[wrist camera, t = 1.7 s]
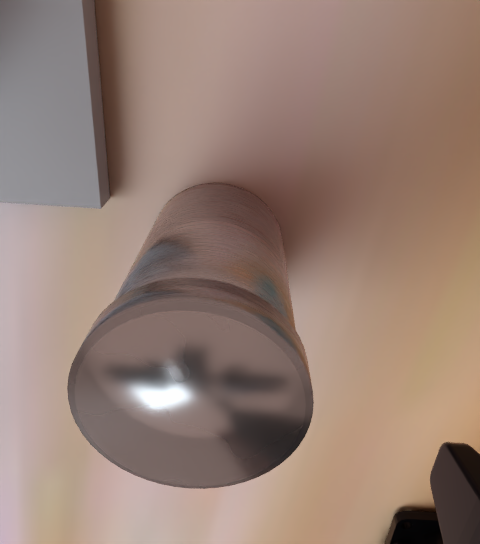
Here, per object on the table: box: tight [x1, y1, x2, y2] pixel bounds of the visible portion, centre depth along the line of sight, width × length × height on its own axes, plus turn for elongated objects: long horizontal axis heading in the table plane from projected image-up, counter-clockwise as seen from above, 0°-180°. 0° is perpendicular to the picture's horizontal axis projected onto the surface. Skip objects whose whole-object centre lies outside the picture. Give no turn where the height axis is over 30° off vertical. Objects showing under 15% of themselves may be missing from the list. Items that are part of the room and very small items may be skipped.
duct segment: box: [68, 183, 314, 488], centre depth 12 cm, size 5×5×8 cm
